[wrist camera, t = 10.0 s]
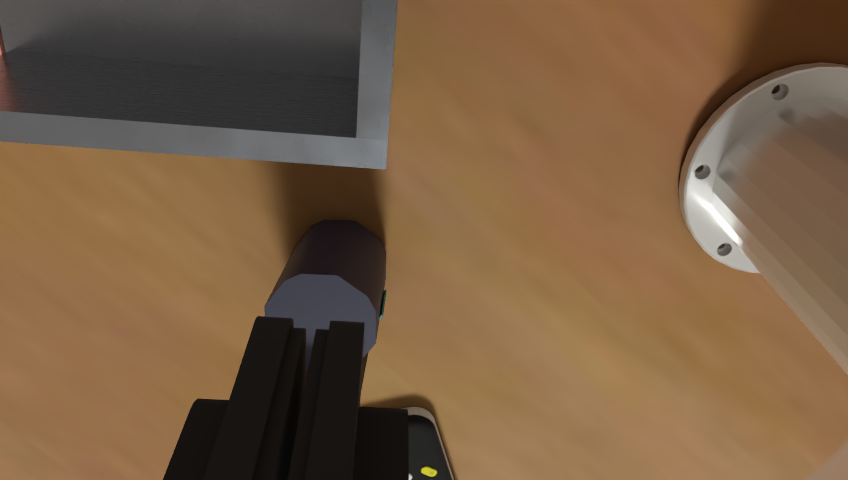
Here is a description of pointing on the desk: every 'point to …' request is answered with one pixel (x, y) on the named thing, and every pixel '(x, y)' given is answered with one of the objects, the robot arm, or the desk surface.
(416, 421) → the remote control
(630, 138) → the desk surface
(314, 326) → the speaker
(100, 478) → the desk surface
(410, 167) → the desk surface
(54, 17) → the box
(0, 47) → the tailgate
